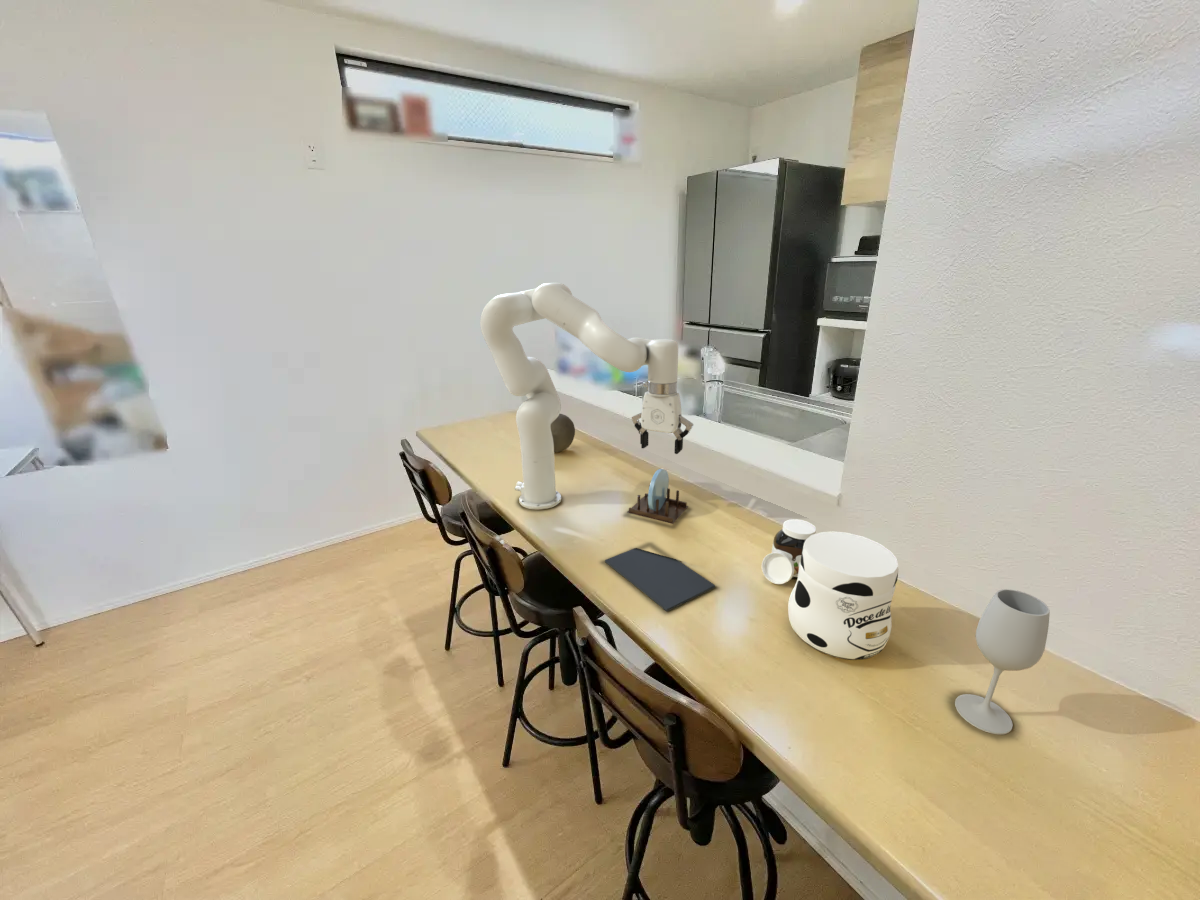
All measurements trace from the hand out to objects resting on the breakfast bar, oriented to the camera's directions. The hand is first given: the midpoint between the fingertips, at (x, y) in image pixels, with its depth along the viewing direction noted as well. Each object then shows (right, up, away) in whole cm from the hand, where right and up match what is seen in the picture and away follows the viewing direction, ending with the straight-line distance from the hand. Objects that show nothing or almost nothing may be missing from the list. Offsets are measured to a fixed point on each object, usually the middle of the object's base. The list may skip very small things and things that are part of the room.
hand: (661, 449), depth 134 cm
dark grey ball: (-33, -1, +53) cm, 63 cm away
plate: (0, -17, +6) cm, 18 cm away
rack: (0, -18, +7) cm, 19 cm away
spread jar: (+26, -29, -22) cm, 45 cm away
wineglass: (+43, -41, -57) cm, 83 cm away
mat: (-3, -28, -22) cm, 36 cm away
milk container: (+28, -35, -40) cm, 60 cm away
